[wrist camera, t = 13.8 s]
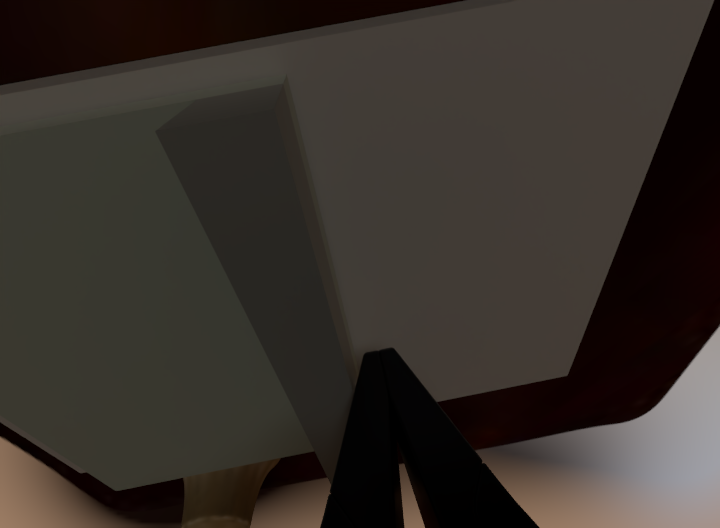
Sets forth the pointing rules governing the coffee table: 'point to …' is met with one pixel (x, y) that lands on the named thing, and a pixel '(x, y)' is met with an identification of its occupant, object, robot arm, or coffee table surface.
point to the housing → (452, 164)
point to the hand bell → (224, 496)
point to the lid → (170, 288)
